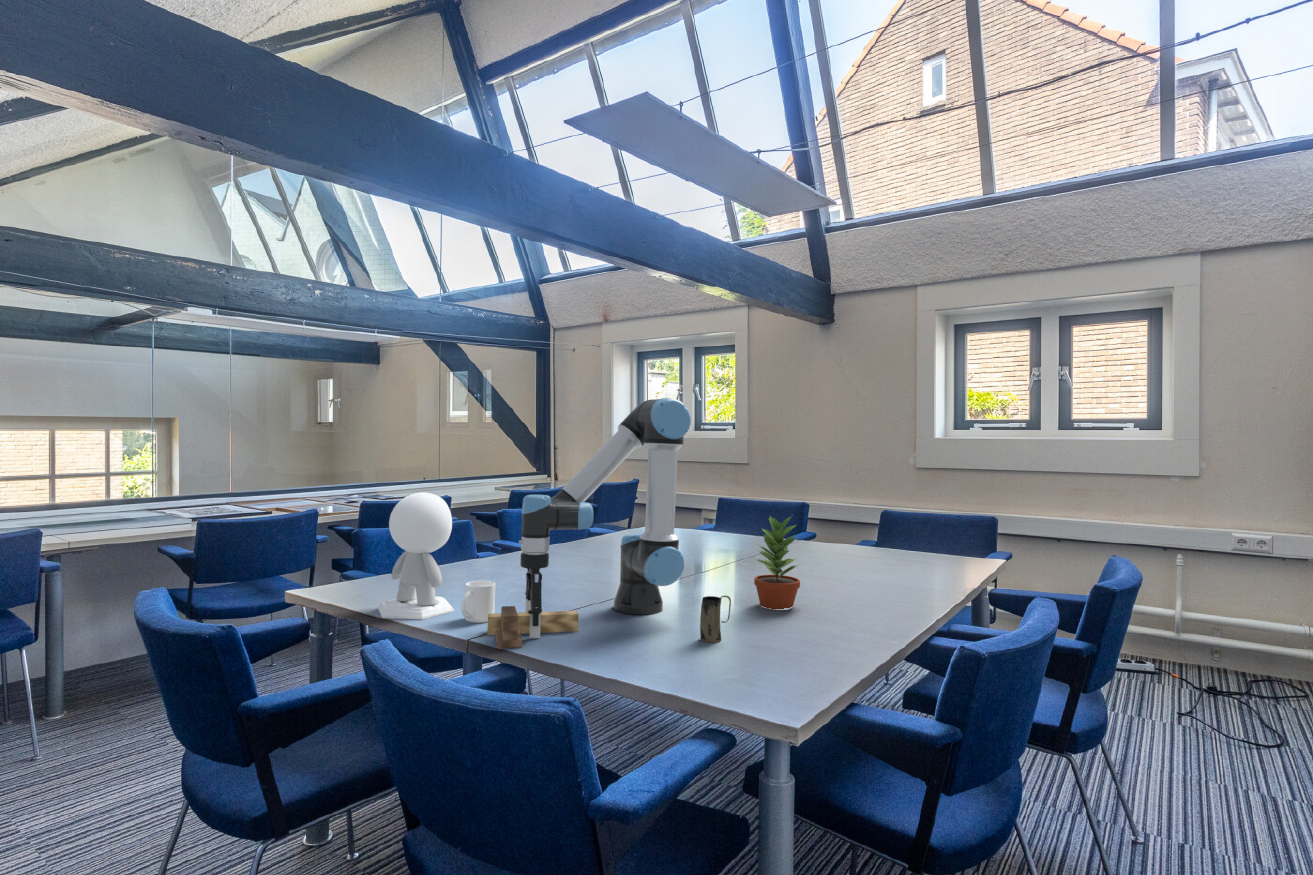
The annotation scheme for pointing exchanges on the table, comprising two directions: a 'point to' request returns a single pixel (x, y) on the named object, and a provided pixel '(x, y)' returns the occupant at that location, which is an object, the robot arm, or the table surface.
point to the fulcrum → (508, 629)
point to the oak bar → (549, 622)
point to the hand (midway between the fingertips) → (532, 630)
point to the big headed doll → (418, 557)
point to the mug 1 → (478, 601)
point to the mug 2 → (711, 619)
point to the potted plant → (777, 569)
